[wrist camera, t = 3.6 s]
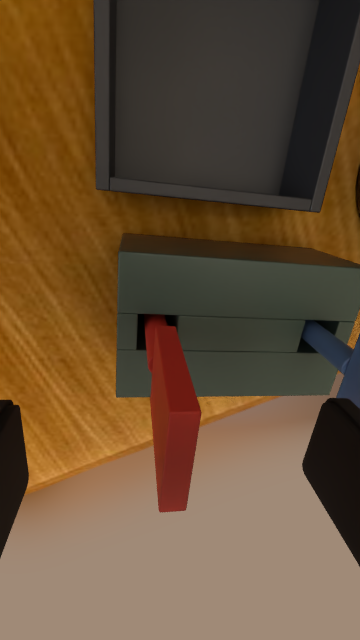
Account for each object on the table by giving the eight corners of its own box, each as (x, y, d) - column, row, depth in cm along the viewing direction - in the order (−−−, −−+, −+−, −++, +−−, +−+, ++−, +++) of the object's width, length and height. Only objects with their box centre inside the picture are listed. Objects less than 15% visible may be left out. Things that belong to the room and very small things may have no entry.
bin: (104, 189, 17) (95, 189, 13) (104, -86, 13) (90, -210, 9) (281, 207, 19) (320, 212, 15) (331, -28, 15) (405, -109, 11)
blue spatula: (260, 322, 23) (421, 493, 10) (270, 276, 21) (473, 407, 8) (274, 323, 23) (451, 491, 10) (285, 277, 21) (507, 406, 9)
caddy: (120, 345, 22) (116, 397, 16) (122, 233, 19) (118, 251, 13) (284, 348, 24) (329, 395, 18) (311, 248, 21) (374, 269, 15)
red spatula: (141, 318, 21) (151, 514, 8) (143, 268, 20) (160, 412, 7) (157, 319, 21) (193, 510, 9) (161, 269, 20) (210, 412, 7)
